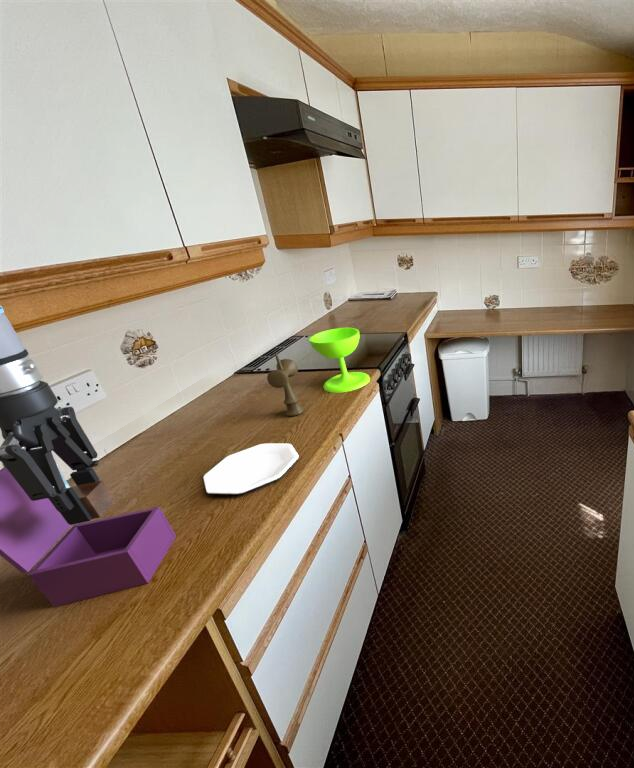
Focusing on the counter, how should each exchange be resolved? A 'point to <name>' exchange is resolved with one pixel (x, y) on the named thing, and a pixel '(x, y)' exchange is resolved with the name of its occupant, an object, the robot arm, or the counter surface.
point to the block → (94, 498)
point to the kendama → (286, 384)
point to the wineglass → (340, 357)
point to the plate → (250, 468)
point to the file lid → (26, 525)
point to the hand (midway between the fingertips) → (90, 510)
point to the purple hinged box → (104, 556)
